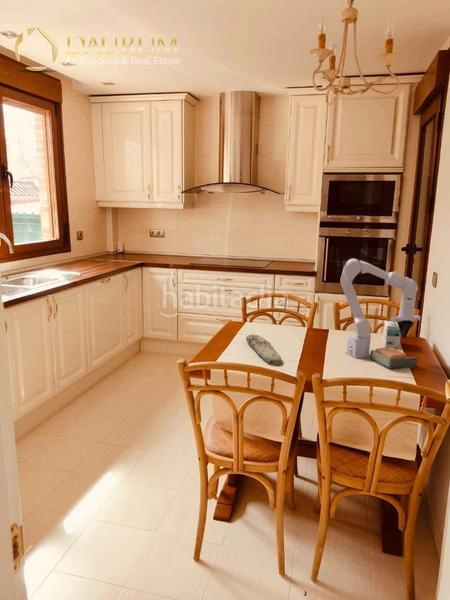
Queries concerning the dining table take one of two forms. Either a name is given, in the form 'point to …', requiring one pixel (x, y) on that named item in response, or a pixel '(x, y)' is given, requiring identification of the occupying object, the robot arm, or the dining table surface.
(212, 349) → the dining table surface
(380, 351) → the slab
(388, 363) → the roller bed
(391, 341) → the light bulb box
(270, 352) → the elongated rock
